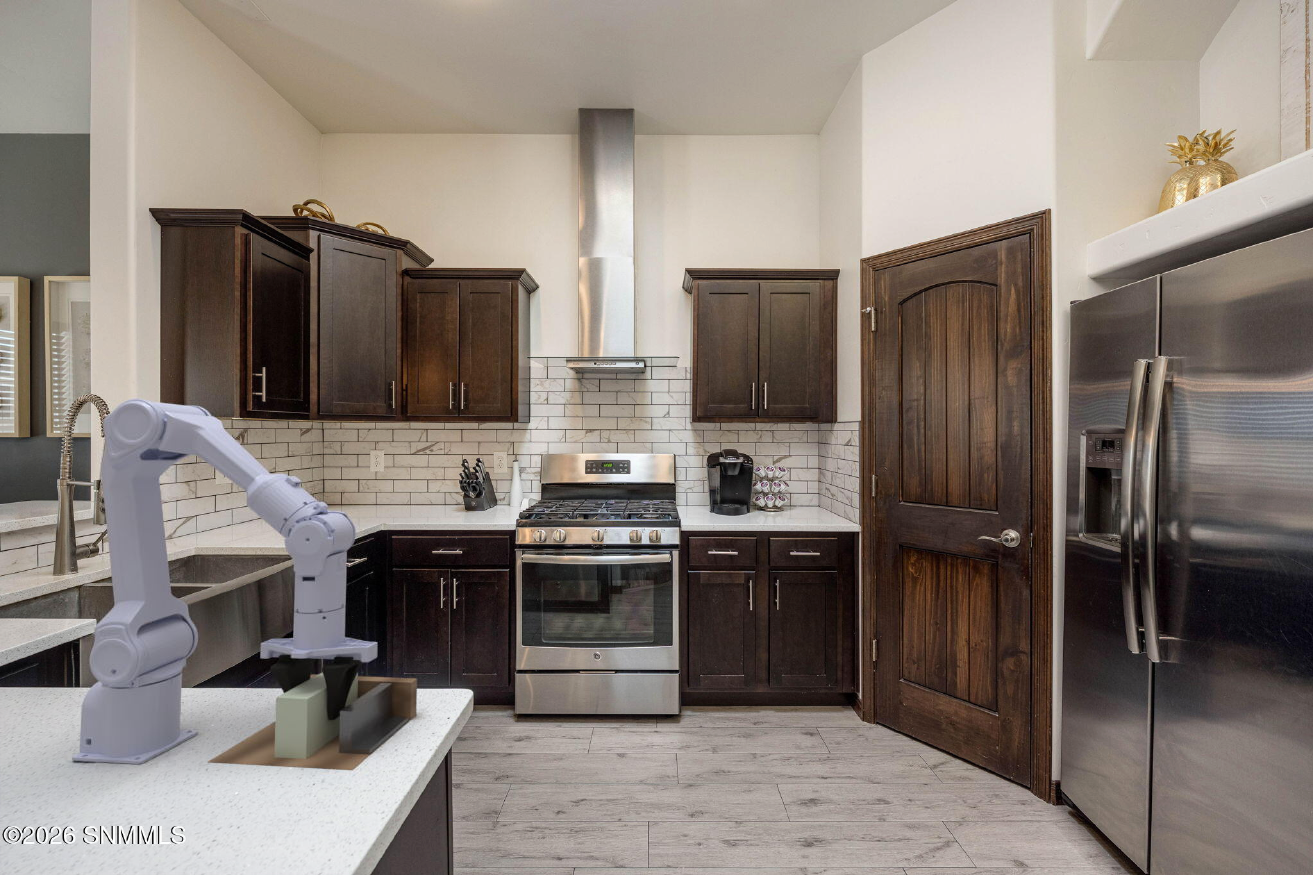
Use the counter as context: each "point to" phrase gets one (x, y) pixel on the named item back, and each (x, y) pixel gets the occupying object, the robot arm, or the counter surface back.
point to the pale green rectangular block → (306, 719)
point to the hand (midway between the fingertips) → (317, 715)
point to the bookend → (368, 721)
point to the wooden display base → (328, 757)
